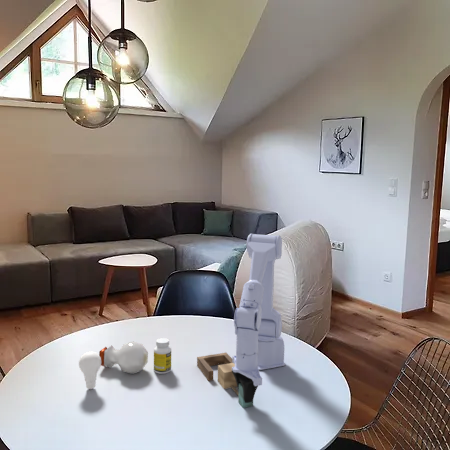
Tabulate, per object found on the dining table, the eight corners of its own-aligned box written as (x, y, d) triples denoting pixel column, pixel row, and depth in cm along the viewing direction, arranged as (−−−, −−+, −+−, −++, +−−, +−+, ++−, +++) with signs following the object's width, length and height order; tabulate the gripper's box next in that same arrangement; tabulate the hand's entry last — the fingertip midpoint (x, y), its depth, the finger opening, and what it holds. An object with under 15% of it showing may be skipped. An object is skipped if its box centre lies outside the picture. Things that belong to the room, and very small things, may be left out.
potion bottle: (147, 380, 138) (104, 378, 143) (156, 351, 145) (114, 351, 150) (136, 364, 132) (91, 363, 137) (146, 335, 139) (103, 335, 144)
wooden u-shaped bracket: (226, 361, 149) (226, 352, 149) (239, 375, 139) (239, 366, 139) (197, 366, 145) (197, 357, 145) (208, 381, 136) (208, 371, 135)
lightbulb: (106, 385, 132) (105, 349, 130) (93, 396, 126) (92, 358, 125) (88, 382, 134) (87, 346, 132) (75, 392, 128) (73, 355, 126)
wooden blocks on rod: (233, 378, 138) (233, 361, 137) (256, 405, 123) (257, 386, 122) (217, 381, 136) (217, 363, 135) (239, 408, 121) (240, 389, 120)
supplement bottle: (168, 375, 139) (168, 344, 137) (151, 373, 140) (151, 343, 138) (173, 367, 144) (173, 337, 143) (157, 365, 145) (157, 336, 144)
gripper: (222, 342, 126) (222, 388, 128) (244, 364, 113) (243, 415, 115) (245, 339, 129) (244, 384, 131) (269, 360, 116) (268, 410, 118)
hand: (245, 398), depth 123 cm, fingers closed on wooden blocks on rod, 3 cm apart
